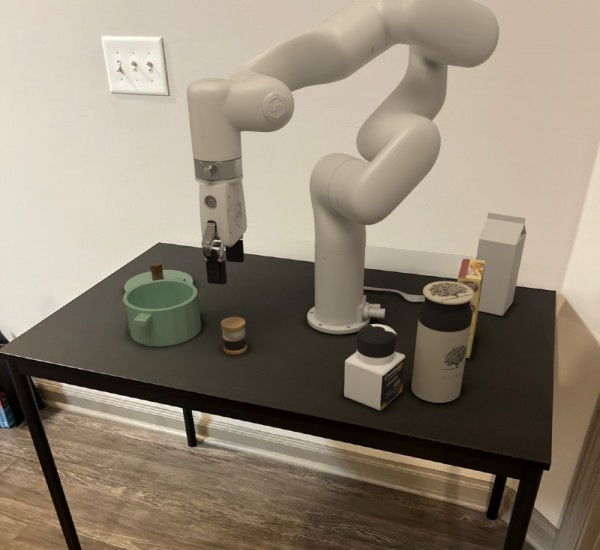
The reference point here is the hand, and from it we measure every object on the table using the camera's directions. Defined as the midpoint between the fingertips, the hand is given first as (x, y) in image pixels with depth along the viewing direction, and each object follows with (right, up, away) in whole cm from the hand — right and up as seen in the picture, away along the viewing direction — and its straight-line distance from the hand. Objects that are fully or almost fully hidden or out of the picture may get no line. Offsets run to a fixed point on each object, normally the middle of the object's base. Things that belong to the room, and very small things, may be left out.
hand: (226, 271), depth 104 cm
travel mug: (+35, -21, -3) cm, 41 cm away
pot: (-14, -8, +16) cm, 23 cm away
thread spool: (+1, -12, +9) cm, 15 cm away
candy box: (+42, -12, +9) cm, 45 cm away
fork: (+31, +1, +28) cm, 42 cm away
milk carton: (+52, -3, +22) cm, 57 cm away
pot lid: (-19, +4, +32) cm, 37 cm away
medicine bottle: (+25, -21, -4) cm, 33 cm away
